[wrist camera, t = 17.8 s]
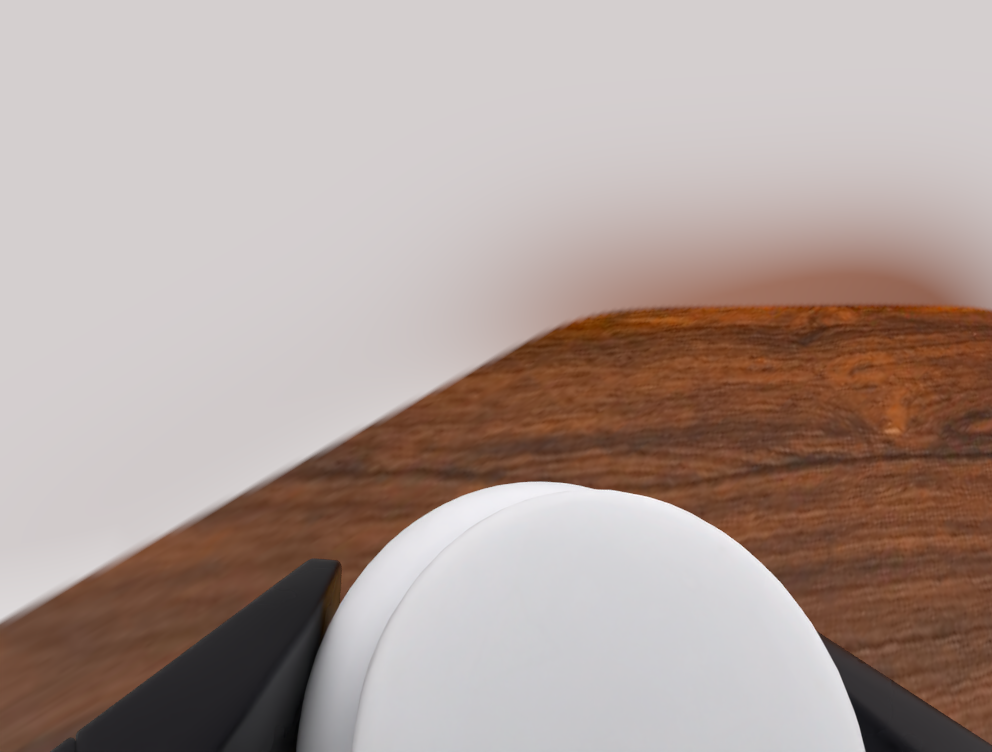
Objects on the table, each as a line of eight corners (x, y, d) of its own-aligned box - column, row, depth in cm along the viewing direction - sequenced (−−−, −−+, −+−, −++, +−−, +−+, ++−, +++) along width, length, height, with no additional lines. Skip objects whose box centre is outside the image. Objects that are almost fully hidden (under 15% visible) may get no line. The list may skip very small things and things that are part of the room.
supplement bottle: (549, 542, 15) (750, 344, 6) (639, 783, 13) (1181, 1050, 4) (335, 615, 14) (174, 501, 5) (395, 902, 11) (311, 1812, 2)
